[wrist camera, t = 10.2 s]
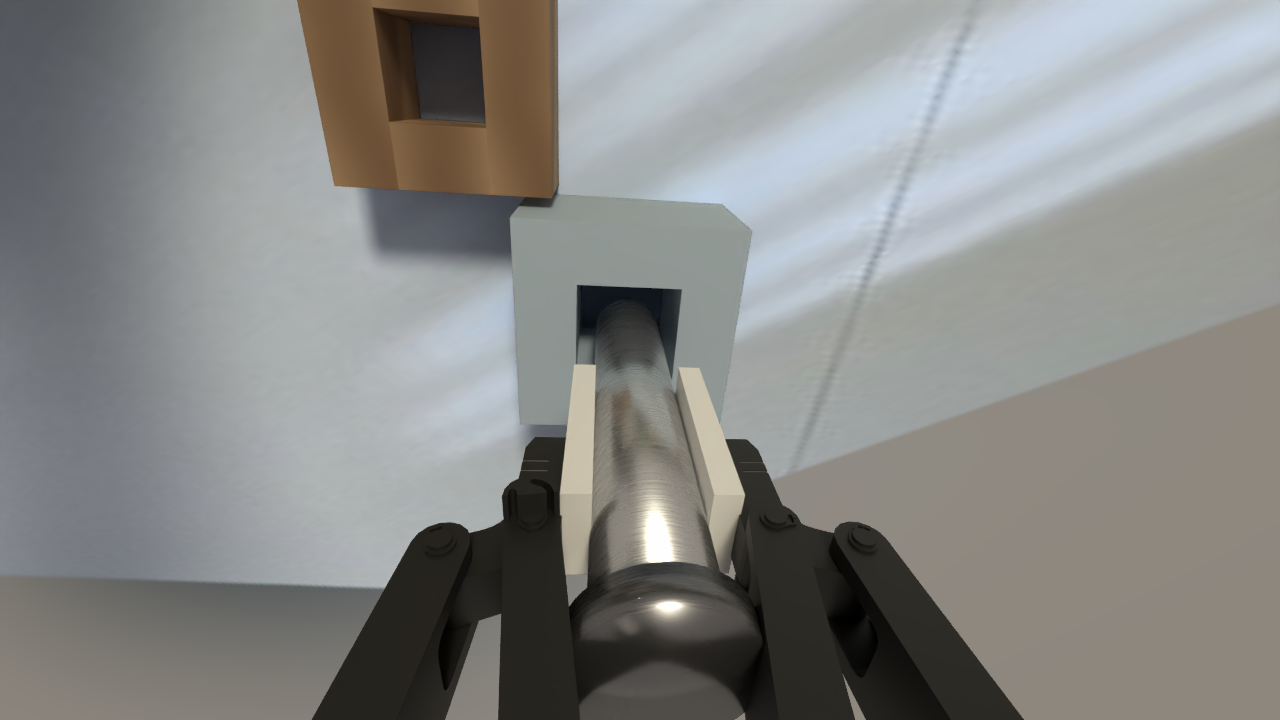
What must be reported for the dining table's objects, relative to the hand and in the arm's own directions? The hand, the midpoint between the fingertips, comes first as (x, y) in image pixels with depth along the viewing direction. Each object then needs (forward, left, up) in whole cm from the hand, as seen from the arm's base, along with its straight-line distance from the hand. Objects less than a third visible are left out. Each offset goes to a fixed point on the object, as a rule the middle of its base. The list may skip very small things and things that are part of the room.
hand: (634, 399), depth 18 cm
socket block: (0, 0, -11) cm, 11 cm away
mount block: (-8, +10, -11) cm, 17 cm away
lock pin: (0, 0, -7) cm, 7 cm away
